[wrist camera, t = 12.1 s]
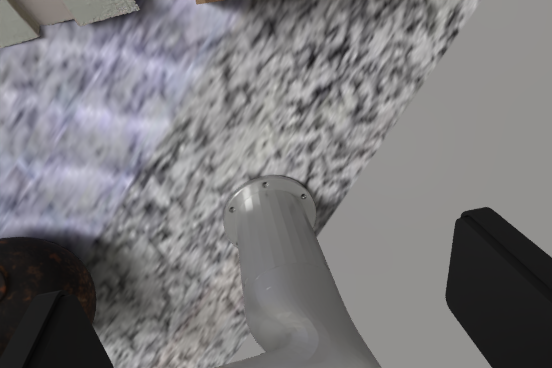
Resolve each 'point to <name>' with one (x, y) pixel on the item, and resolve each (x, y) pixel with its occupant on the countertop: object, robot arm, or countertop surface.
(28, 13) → the grey angled piece
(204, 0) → the wall
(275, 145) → the countertop surface
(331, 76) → the countertop surface
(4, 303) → the glass bottle
